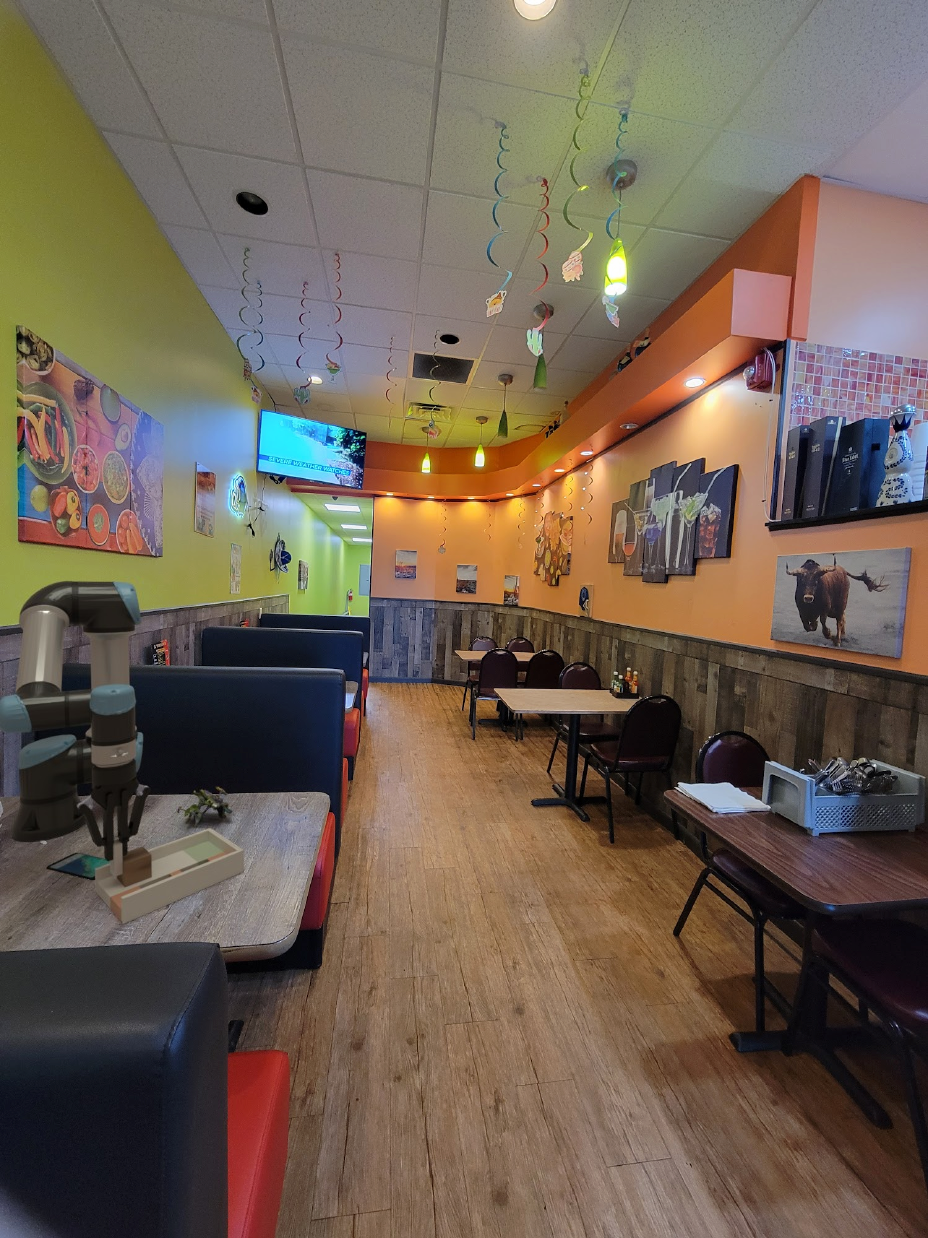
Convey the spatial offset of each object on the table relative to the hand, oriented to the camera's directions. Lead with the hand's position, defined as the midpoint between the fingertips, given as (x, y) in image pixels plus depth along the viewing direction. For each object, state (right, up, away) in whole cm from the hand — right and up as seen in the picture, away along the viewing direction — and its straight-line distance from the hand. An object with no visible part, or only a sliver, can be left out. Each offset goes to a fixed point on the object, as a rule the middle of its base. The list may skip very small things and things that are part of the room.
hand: (116, 872), depth 107 cm
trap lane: (+8, -5, +6) cm, 11 cm away
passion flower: (+2, -3, +33) cm, 34 cm away
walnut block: (+2, -2, +3) cm, 4 cm away
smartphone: (-15, -5, +11) cm, 19 cm away
